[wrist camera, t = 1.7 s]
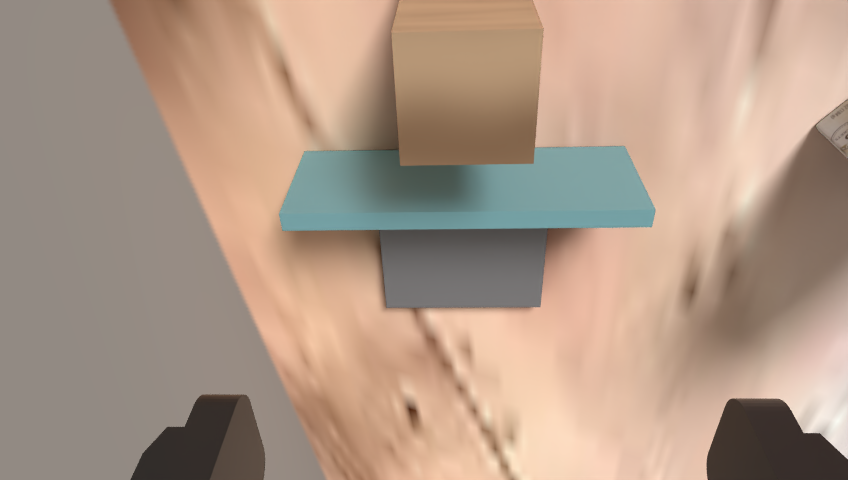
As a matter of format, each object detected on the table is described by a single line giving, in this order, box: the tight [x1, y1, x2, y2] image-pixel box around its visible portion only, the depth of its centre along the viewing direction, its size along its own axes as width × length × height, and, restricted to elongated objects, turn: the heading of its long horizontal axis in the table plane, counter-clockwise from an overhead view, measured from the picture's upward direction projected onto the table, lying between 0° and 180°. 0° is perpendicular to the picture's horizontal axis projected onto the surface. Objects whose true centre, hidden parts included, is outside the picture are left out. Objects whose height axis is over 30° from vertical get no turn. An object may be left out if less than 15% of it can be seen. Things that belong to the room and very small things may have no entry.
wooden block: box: [391, 0, 543, 166], centre depth 27 cm, size 5×5×11 cm
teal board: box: [279, 146, 656, 231], centre depth 33 cm, size 1×18×6 cm, turn 92°
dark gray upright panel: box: [379, 228, 548, 308], centre depth 39 cm, size 7×10×1 cm
